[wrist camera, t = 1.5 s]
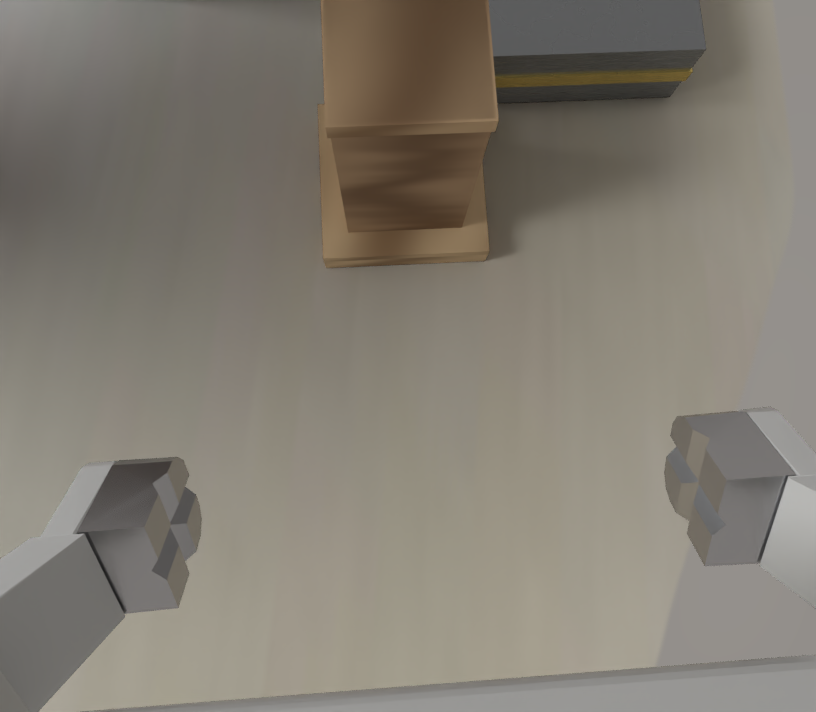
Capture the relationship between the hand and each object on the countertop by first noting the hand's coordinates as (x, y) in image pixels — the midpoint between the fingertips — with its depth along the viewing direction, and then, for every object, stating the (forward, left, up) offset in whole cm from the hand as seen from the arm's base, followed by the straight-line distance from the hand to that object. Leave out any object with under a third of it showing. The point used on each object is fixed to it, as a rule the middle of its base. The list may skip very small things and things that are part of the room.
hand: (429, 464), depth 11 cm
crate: (-11, +8, -19) cm, 23 cm away
